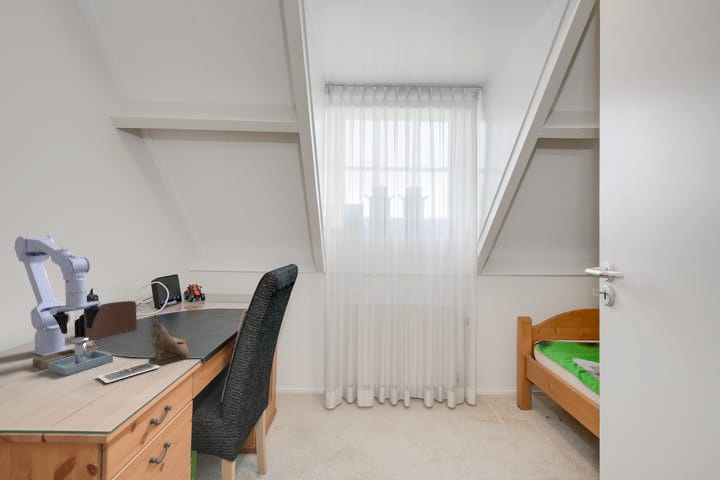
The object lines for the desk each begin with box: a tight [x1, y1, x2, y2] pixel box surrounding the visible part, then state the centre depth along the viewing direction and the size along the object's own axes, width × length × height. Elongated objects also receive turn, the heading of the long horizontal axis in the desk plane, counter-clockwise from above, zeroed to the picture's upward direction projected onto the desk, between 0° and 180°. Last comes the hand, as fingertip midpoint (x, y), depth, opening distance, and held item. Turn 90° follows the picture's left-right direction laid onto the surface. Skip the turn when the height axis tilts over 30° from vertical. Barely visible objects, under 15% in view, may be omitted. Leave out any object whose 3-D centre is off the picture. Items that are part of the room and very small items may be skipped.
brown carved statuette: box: [148, 315, 189, 366], centre depth 120 cm, size 12×6×18 cm, turn 126°
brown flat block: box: [32, 344, 101, 371], centre depth 122 cm, size 8×16×2 cm, turn 154°
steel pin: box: [71, 337, 90, 365], centre depth 117 cm, size 4×4×8 cm
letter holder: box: [74, 300, 138, 342], centre depth 153 cm, size 10×20×14 cm, turn 149°
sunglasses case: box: [170, 335, 191, 355], centre depth 133 cm, size 18×7×7 cm
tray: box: [47, 350, 114, 377], centre depth 116 cm, size 11×14×2 cm
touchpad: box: [96, 361, 161, 384], centre depth 110 cm, size 8×15×2 cm, turn 143°
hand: (77, 330), depth 124 cm, fingers open, 7 cm apart
